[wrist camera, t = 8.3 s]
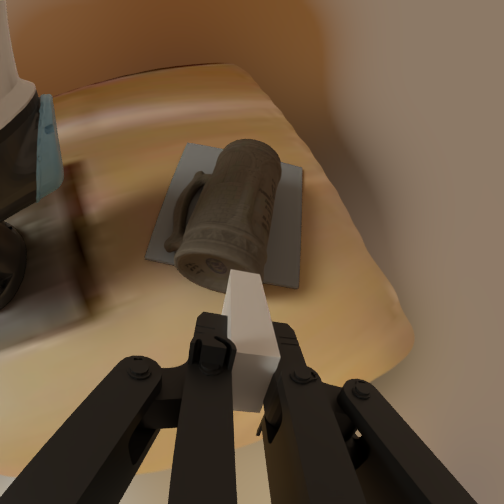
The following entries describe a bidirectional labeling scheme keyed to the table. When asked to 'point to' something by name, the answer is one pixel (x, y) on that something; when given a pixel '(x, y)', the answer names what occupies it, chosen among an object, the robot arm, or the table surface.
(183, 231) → the beer stein
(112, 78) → the table surface
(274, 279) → the mat
